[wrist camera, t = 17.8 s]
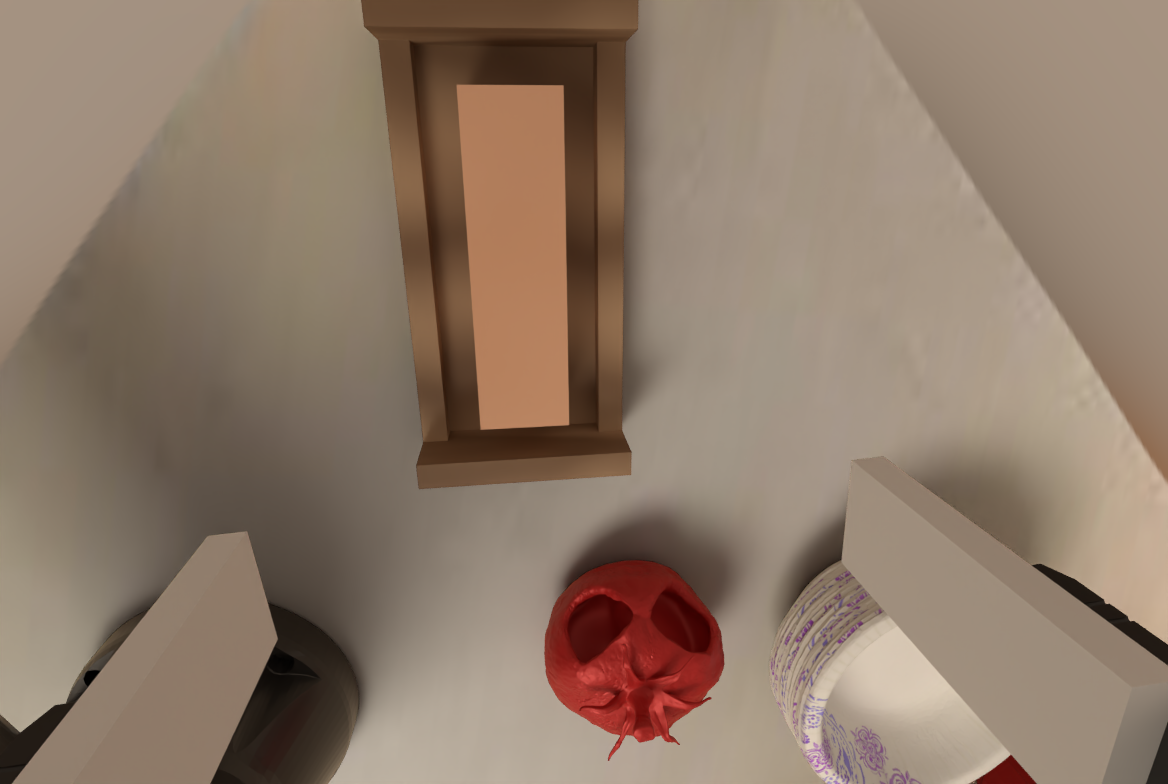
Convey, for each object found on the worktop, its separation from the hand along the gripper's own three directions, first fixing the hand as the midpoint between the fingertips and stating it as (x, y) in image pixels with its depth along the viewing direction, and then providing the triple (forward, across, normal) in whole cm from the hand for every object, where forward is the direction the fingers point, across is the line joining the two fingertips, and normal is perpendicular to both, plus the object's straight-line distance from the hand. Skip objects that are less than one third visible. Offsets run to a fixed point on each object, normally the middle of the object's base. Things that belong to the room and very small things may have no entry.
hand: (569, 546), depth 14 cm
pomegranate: (+20, -4, +18) cm, 27 cm away
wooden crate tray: (+20, 0, -4) cm, 20 cm away
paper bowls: (+20, -20, +21) cm, 35 cm away
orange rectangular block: (+18, 0, -4) cm, 19 cm away
